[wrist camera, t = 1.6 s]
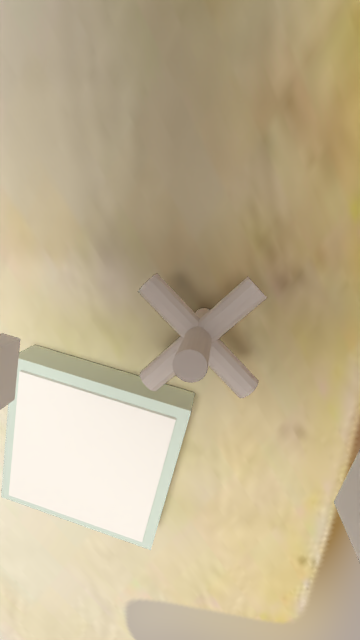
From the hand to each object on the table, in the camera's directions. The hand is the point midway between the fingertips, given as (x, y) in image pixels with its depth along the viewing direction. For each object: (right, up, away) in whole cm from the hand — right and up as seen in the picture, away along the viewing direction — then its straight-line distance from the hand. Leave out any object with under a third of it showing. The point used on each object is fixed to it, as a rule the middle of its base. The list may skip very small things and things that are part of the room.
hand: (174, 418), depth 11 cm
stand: (-8, -8, +18) cm, 22 cm away
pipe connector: (+2, +4, +14) cm, 14 cm away
